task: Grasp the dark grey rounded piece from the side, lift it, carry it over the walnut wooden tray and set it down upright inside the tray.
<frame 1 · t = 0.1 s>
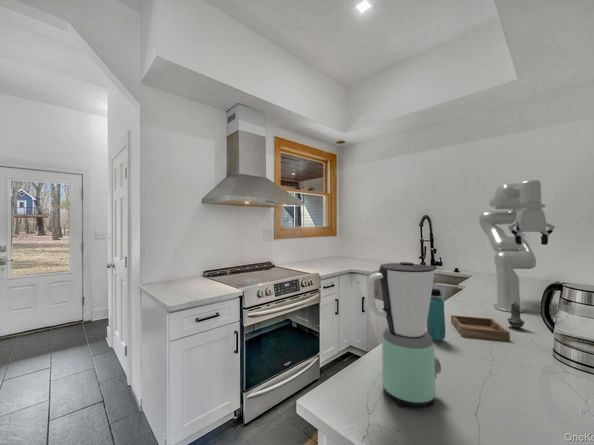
hand: (531, 244, 121), 37 cm above the counter, tool pointing down, fingers open, 9 cm apart
mint green blender: (405, 395, 70), on the counter
tray: (477, 331, 112), on the counter
dark grey rounded piece: (516, 329, 115), on the counter
beverage bottle: (436, 340, 104), on the counter
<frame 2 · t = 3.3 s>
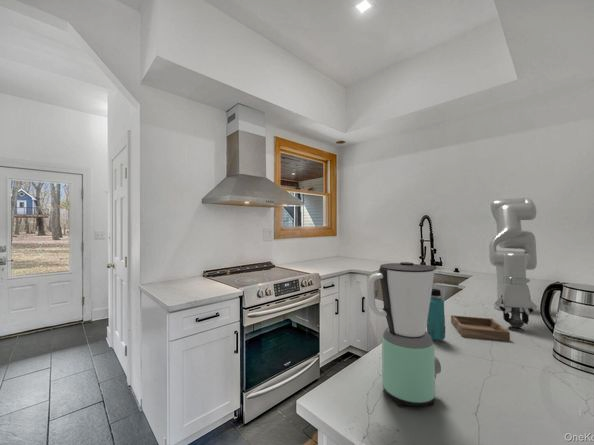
hand: (515, 321, 115), 3 cm above the counter, tool pointing down, fingers closed on dark grey rounded piece, 5 cm apart
dark grey rounded piece: (516, 329, 115), on the counter, touching gripper
everything else where it was.
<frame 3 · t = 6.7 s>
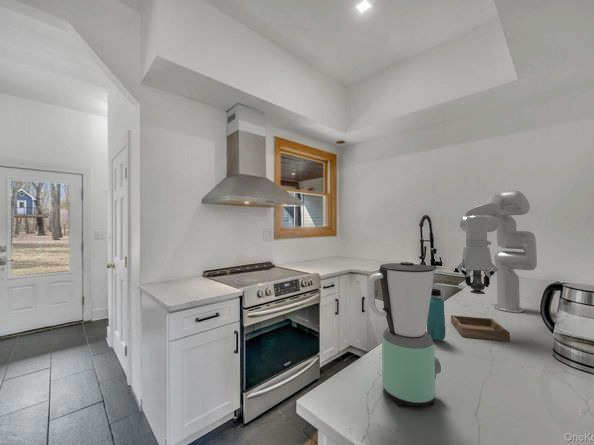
hand: (477, 285, 113), 20 cm above the counter, tool pointing down, fingers closed on dark grey rounded piece, 5 cm apart
dark grey rounded piece: (477, 293, 113), point 16 cm above the counter, touching gripper
everything else where it was.
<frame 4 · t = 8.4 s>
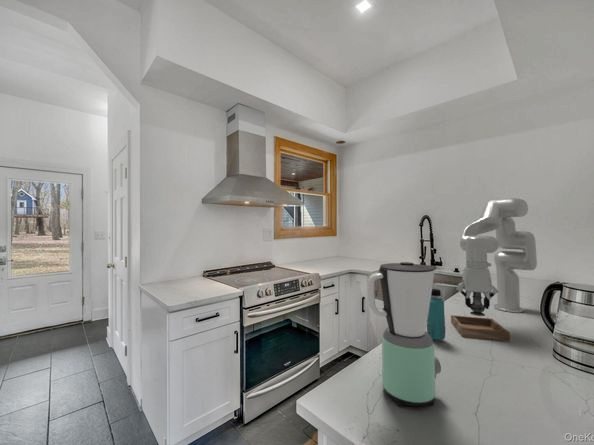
hand: (477, 307, 113), 10 cm above the counter, tool pointing down, fingers closed on dark grey rounded piece, 5 cm apart
dark grey rounded piece: (477, 314, 113), point 7 cm above the counter, touching gripper
everything else where it was.
when the fingers open (5 cm above the counter, at t = 9.9 s): dark grey rounded piece drops 1 cm, resting on tray.
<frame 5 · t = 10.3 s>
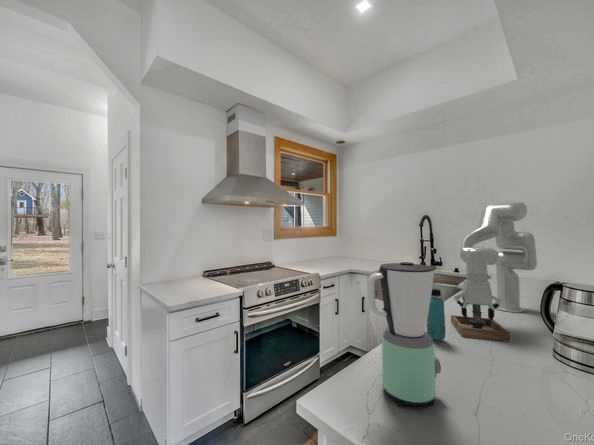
hand: (477, 317, 113), 6 cm above the counter, tool pointing down, fingers open, 9 cm apart
dark grey rounded piece: (477, 330, 113), resting on tray
everything else where it was.
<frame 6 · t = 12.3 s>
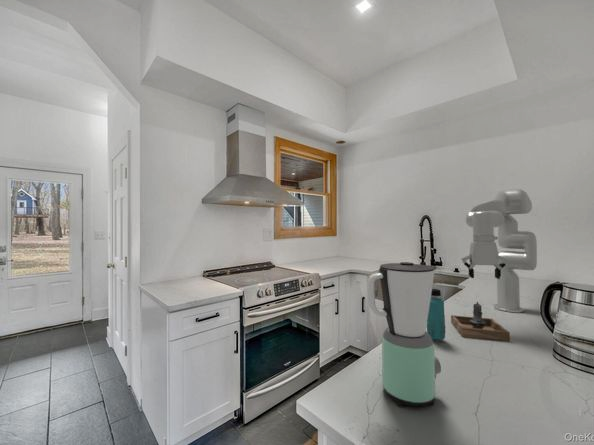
hand: (484, 277, 116), 22 cm above the counter, tool pointing down, fingers open, 9 cm apart
nothing on the counter moved.
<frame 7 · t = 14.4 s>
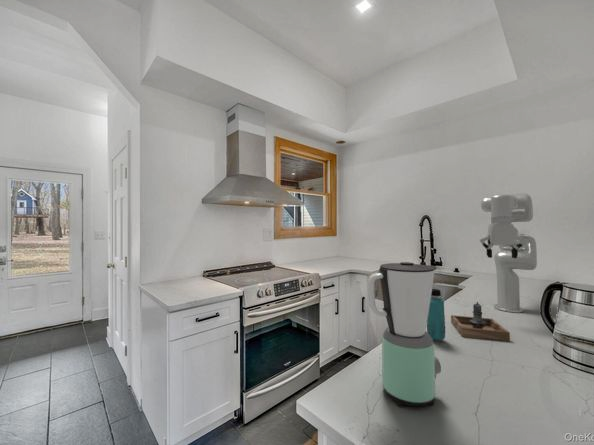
hand: (501, 257, 123), 30 cm above the counter, tool pointing down, fingers open, 9 cm apart
nothing on the counter moved.
at the end: dark grey rounded piece inside the target area on the tray (0.1 cm from its centre), point 0.4 cm above the tray's base; dark grey rounded piece tilted 0°; the gripper is holding nothing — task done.
